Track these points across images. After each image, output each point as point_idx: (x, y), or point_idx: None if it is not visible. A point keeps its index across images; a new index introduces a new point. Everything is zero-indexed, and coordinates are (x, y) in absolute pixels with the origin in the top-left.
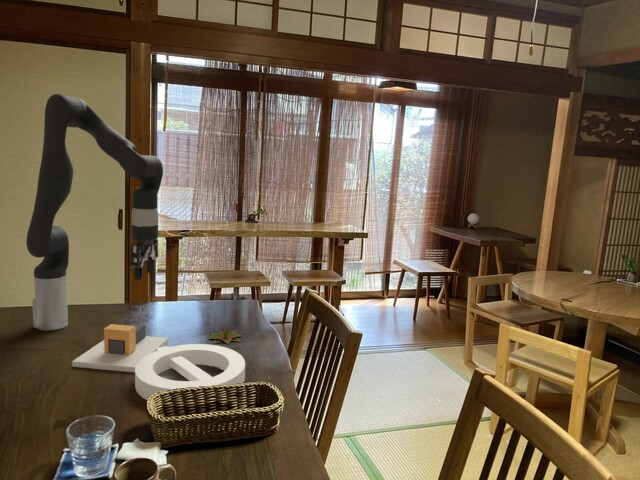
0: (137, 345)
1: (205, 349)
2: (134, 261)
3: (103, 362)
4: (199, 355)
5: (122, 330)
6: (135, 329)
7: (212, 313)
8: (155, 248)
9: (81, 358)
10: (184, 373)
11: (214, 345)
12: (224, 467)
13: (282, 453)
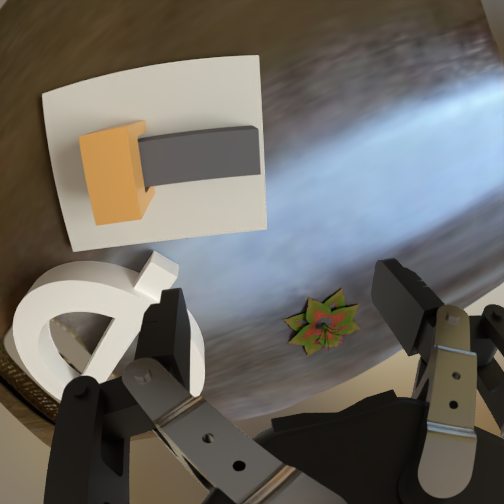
0: None
1: None
2: (140, 407)
3: (60, 167)
4: None
5: (91, 204)
6: (210, 166)
7: (463, 234)
8: (496, 410)
9: (60, 99)
10: (96, 348)
11: (203, 372)
12: (9, 407)
13: (51, 435)
